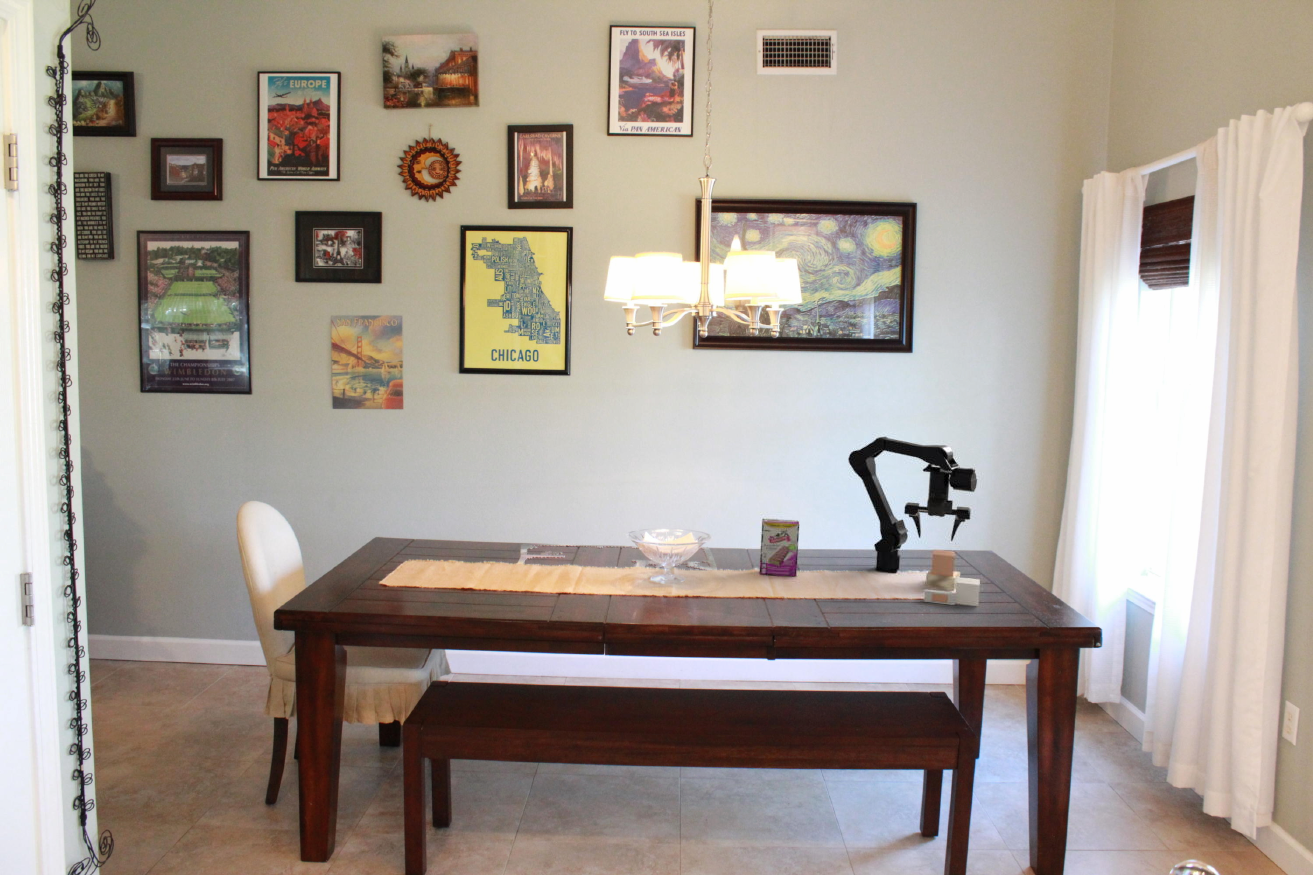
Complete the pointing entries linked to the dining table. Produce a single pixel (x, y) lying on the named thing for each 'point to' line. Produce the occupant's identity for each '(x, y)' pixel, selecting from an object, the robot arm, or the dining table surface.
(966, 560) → the dining table surface
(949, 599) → the plinth
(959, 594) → the offwhite cube
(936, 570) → the terracotta cube
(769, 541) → the candy bar box
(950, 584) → the base block
